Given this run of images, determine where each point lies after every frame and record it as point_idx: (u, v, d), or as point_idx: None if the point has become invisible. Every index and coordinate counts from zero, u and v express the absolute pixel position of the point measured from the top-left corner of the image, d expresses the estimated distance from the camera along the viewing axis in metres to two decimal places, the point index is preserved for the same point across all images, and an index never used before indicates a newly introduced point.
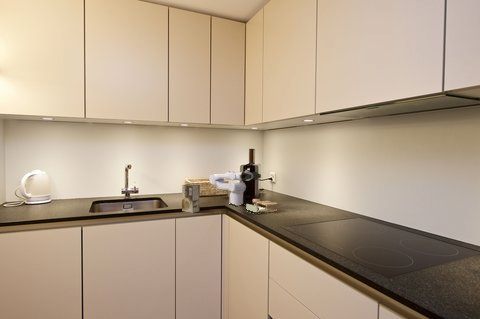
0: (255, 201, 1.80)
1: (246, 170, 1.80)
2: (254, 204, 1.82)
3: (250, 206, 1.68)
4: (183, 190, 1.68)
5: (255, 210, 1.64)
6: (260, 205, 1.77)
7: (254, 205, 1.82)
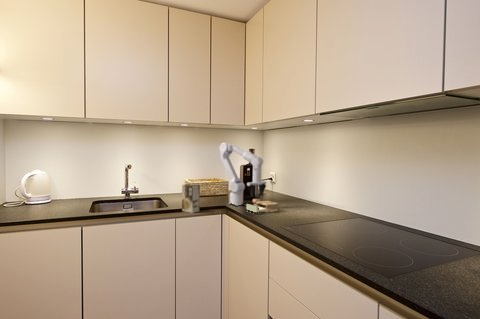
0: (255, 201, 1.80)
1: (259, 183, 1.79)
2: (254, 204, 1.82)
3: (250, 206, 1.68)
4: (183, 190, 1.68)
5: (255, 210, 1.64)
6: (260, 205, 1.77)
7: (254, 205, 1.82)
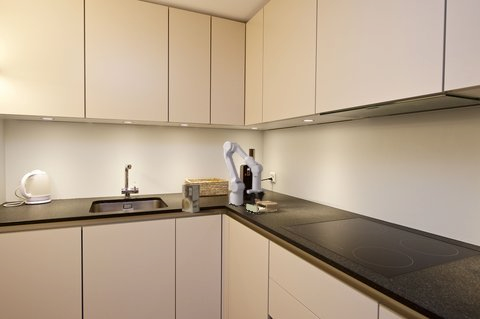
0: (255, 201, 1.80)
1: (259, 191, 1.79)
2: (254, 204, 1.82)
3: (250, 206, 1.68)
4: (183, 190, 1.68)
5: (255, 210, 1.64)
6: (260, 205, 1.77)
7: (254, 205, 1.82)
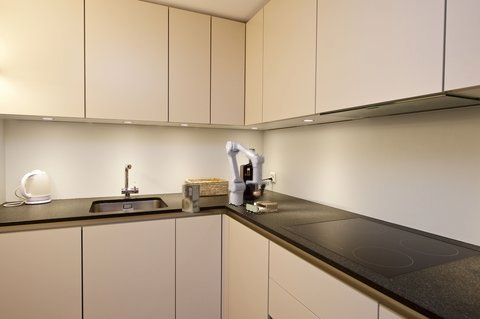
0: (253, 193, 1.74)
1: (254, 183, 1.71)
2: (254, 204, 1.82)
3: (250, 206, 1.68)
4: (183, 190, 1.68)
5: (255, 210, 1.64)
6: (260, 205, 1.77)
7: (254, 205, 1.82)
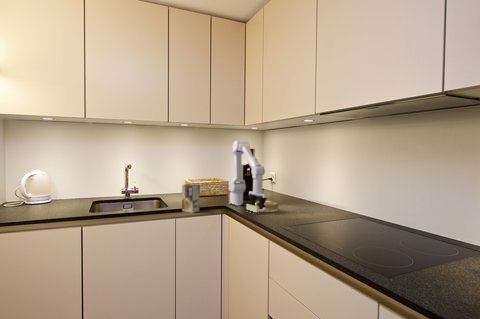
0: None
1: (252, 194, 1.68)
2: None
3: (250, 206, 1.68)
4: (183, 190, 1.68)
5: (255, 210, 1.64)
6: None
7: None
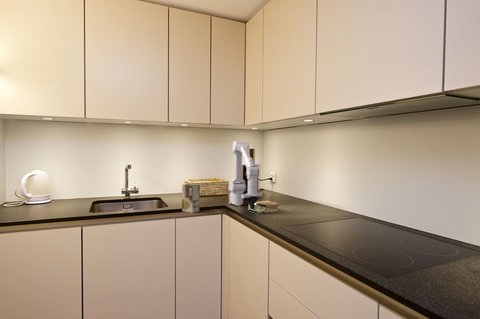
0: None
1: (255, 195, 1.64)
2: None
3: None
4: (183, 190, 1.68)
5: (257, 210, 1.65)
6: (260, 205, 1.77)
7: None
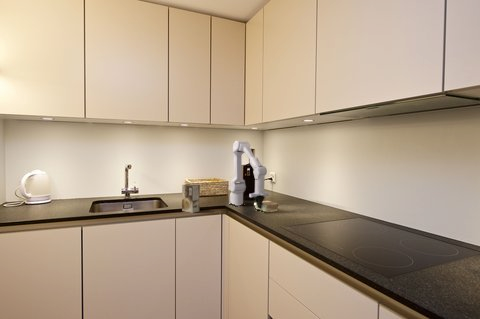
0: None
1: (262, 195, 1.67)
2: (254, 204, 1.82)
3: None
4: (183, 190, 1.68)
5: (264, 209, 1.68)
6: None
7: (254, 205, 1.82)
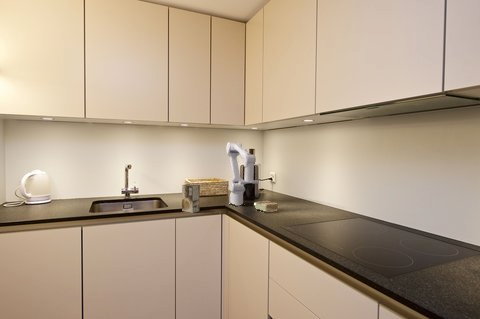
0: None
1: (251, 182, 1.71)
2: (254, 204, 1.82)
3: (259, 205, 1.72)
4: (183, 190, 1.68)
5: (264, 209, 1.68)
6: None
7: (254, 205, 1.82)
